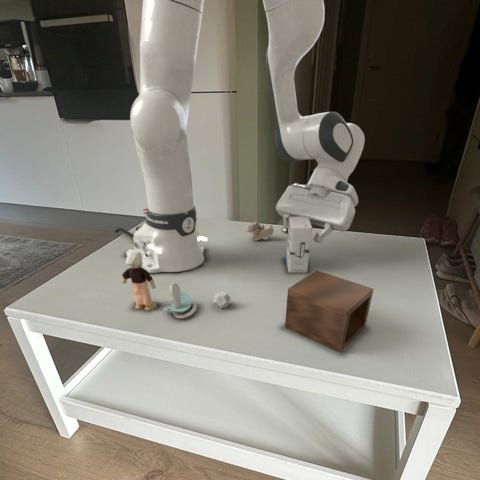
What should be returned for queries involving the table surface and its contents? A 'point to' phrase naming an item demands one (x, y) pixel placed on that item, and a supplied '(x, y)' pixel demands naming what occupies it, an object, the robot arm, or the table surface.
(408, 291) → the table surface
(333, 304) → the shelf
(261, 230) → the toy character
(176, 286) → the pacifier
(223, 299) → the game die
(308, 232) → the ink box
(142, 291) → the grandmother figurine
